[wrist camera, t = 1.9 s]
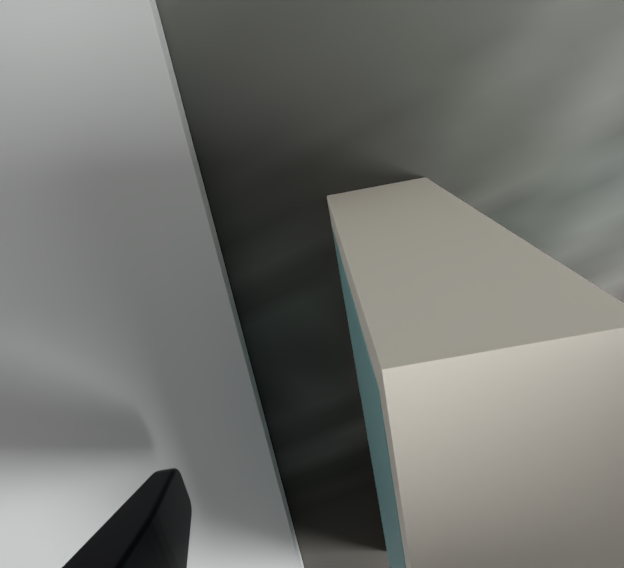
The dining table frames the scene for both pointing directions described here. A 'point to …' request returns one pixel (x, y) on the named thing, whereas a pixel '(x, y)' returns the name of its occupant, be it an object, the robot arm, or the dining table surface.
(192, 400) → the mat
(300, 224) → the dining table surface
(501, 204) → the dining table surface
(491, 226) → the block
